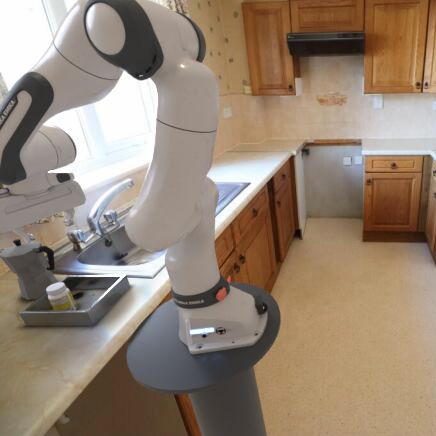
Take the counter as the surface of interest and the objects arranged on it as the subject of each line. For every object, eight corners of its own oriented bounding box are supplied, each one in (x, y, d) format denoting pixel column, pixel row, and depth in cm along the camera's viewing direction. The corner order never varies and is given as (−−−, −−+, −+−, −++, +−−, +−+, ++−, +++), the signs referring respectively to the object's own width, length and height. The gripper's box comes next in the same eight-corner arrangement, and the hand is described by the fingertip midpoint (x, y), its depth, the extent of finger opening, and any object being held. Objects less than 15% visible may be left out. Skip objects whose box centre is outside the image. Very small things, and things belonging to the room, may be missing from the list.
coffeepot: (7, 301, 95) (-23, 248, 88) (33, 282, 104) (8, 233, 96) (58, 299, 95) (32, 246, 87) (80, 280, 104) (58, 231, 96)
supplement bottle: (65, 305, 93) (54, 281, 89) (81, 305, 92) (70, 281, 89) (52, 316, 88) (39, 292, 85) (68, 316, 88) (56, 291, 84)
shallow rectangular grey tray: (130, 286, 100) (126, 274, 98) (93, 325, 84) (87, 312, 83) (72, 287, 100) (67, 275, 98) (25, 326, 85) (18, 312, 83)
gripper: (-20, 198, 67) (10, 255, 73) (79, 171, 84) (97, 218, 90) (-36, 195, 70) (-6, 250, 75) (64, 169, 87) (82, 215, 93)
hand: (51, 232), depth 83 cm, fingers open, 8 cm apart
